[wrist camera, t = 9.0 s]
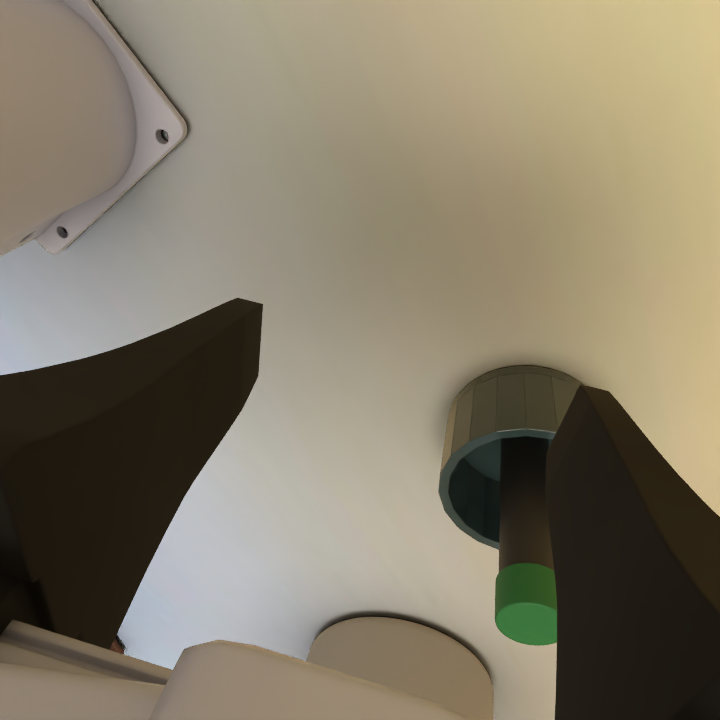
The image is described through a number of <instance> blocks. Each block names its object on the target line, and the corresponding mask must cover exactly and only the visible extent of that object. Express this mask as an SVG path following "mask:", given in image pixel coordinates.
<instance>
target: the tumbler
mask: <svg viewBox="0 0 720 720" xmlns="http://www.w3.org/2000/svg"><path fill="white" fill-rule="evenodd" d="M580 384H581V385H583V384H582V383H580V382H579V381H577V380H576V379H574V378H572V377H571V376H569V375H566V374H564V373H562V372H559V371H556V370H553V369H549V368H544V367H538V366H513V367H506V368H502V369H498V370H494V371H492V372H489V373H486V374H484V375H482V376H480V377H478V378H477V379H475V380H474V381H472V382H471V383H469V384H468V385H467V386H466V387H465V388H464V389H463V390H462V391H461V392H460V393H459V395H458V396H457V397H456V399H455V401H454V402H453V404H452V407H451V409H450V413H449V417H448V422H447V429H446V436H445V443H444V450H443V457H442V464H441V472H440V481H439V495H440V498H441V501H442V504H443V507H444V510H445V512H446V513H447V515H448V516H449V517H450V518H451V519H452V521H453V522H454V523H455V524H456V526H457V527H458V528H459V529H461V530H462V531H464V532H465V533H466V534H468V535H469V536H471V537H472V538H474V539H475V540H476V541H478V542H481V543H483V544H486V545H488V546H491V547H493V548H496V549H498V550H499V531H500V462H501V439H503V438H513V437H523V436H529V437H536V438H544V439H548V442H549V446H550V444H551V442H552V440H553V438H554V436H555V434H556V432H557V430H558V428H559V426H560V424H561V422H562V420H563V418H564V416H565V414H566V412H567V410H568V408H569V406H570V404H571V402H572V400H573V398H574V395H575V393H576V391H577V389H578V387H579V385H580Z"/></svg>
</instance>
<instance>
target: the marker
mask: <svg viewBox="0 0 720 720" xmlns="http://www.w3.org/2000/svg"><path fill="white" fill-rule="evenodd" d="M548 449H549V442H548V439H544V438H536V437H529V436H523V437H513V438H503V439H501V462H500V531H499V574H498V575H497V578H496V591H495V622H496V625H497V627H498V629H499V630H500V631H501V632H502V633H503V634H504V635H505V636H507V637H508V638H510V639H512V640H514V641H517V642H520V643H523V644H528V645H548V644H553V643H556V642H557V597H556V583H555V574H554V565H553V557H552V548H551V540H550V531H549V522H548V513H547V504H546V493H545V485H546V458H547V451H548Z"/></svg>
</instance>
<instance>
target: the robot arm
mask: <svg viewBox="0 0 720 720" xmlns="http://www.w3.org/2000/svg"><path fill="white" fill-rule="evenodd" d="M161 130H164V131H165V132H166V133H167V135H168V138H169V140H168V142H167V141H165V140H164V139H163V138H162V136H161ZM186 135H187V125H186V123H185V121H184V119H183V118H182V116H181V115H180V114H179V112H178V111H177V110H176V109H175V107H174V106H173V105H172V103H171V102H170V101H169V100H168V98H167V97H166V96H165V94H164V93H163V92H162V90H161V89H160V88H159V87H158V85H157V84H156V83H155V81H154V80H153V79H152V78H151V76H150V75H149V74H148V72H147V71H146V70H145V68H144V67H143V66H142V65H141V63H140V62H139V61H138V59H137V58H136V57H135V56H134V54H133V53H132V52H131V50H130V49H129V48H128V46H127V45H126V44H125V43H124V41H123V40H122V39H121V37H120V36H119V35H118V34H117V32H116V31H115V30H114V28H113V27H112V26H111V25H110V23H109V22H108V21H107V19H106V18H105V17H104V15H103V14H102V13H101V12H100V10H99V9H98V8H97V6H96V5H95V4H94V3H93V1H92V0H0V256H2V255H4V254H6V253H8V252H10V251H12V250H14V249H16V248H17V247H19V246H21V245H23V244H25V243H27V242H29V241H31V240H33V239H36V240H37V241H38V242H39V243H40V244H41V245H42V246H43V248H44V249H46V250H47V251H48V252H50V253H52V254H58V253H60V252H61V251H63V250H64V249H66V248H67V247H68V246H69V245H70V244H71V243H72V242H73V241H74V240H75V239H76V238H77V237H79V236H80V235H81V234H82V233H83V232H84V231H85V230H86V229H87V228H88V227H89V226H90V225H91V224H93V223H94V222H95V221H96V220H97V219H98V218H99V217H100V216H101V215H102V214H103V213H104V212H106V211H107V210H108V209H109V208H110V207H111V206H112V205H113V204H114V203H115V202H116V201H117V200H118V199H120V198H121V197H122V196H123V195H124V194H125V193H126V192H127V191H128V190H129V189H130V188H131V187H133V186H134V185H135V184H136V183H137V182H138V181H139V180H140V179H141V178H142V177H143V176H144V175H145V174H147V173H148V172H149V171H150V170H151V169H152V168H153V167H154V166H155V165H156V164H157V163H158V162H159V161H161V160H162V159H163V158H164V157H165V156H166V155H167V154H168V153H169V152H170V151H171V150H172V149H174V148H175V147H176V146H177V145H178V144H179V143H180V142H181V141H182V140H183V139H184V138H185V137H186ZM63 228H65V229H66V231H67V233H68V234H66V233H65V232H64V230H63ZM262 310H263V304H260V303H256V302H252V301H248V300H244V299H240V298H236V299H233V300H231V301H228V302H226V303H224V304H222V305H219V306H217V307H215V308H213V309H211V310H209V311H206V312H204V313H202V314H200V315H198V316H196V317H194V318H191V319H189V320H187V321H185V322H182V323H180V324H178V325H176V326H174V327H171V328H169V329H167V330H164V331H162V332H159V333H157V334H154V335H151V336H149V337H146V338H144V339H141V340H139V341H136V342H134V343H131V344H128V345H126V346H123V347H120V348H117V349H114V350H111V351H107V352H104V353H101V354H97V355H94V356H90V357H87V358H83V359H79V360H75V361H71V362H66V363H62V364H57V365H53V366H49V367H44V368H40V369H35V370H30V371H24V372H18V373H12V374H7V375H0V720H470V719H469V718H468V717H467V716H465V715H463V714H460V713H458V712H456V711H454V710H452V709H450V708H448V707H445V706H443V705H441V704H439V703H437V702H435V701H432V700H430V699H426V698H423V697H420V696H417V695H413V694H410V693H407V692H404V691H400V690H397V689H394V688H391V687H387V686H384V685H381V684H378V683H375V682H371V681H368V680H365V679H362V678H358V677H355V676H352V675H349V674H345V673H342V672H339V671H336V670H332V669H329V668H326V667H323V666H319V665H316V664H313V663H310V662H306V661H303V660H300V659H297V658H294V657H290V656H287V655H284V654H281V653H277V652H274V651H271V650H268V649H264V648H261V647H258V646H255V645H249V644H243V643H236V642H230V641H224V640H216V641H211V642H207V643H203V644H199V645H194V646H192V647H189V648H186V649H184V650H183V652H182V654H181V656H180V658H179V659H178V661H177V663H176V665H175V667H174V669H173V670H171V669H168V668H164V667H161V666H158V665H155V664H152V663H149V662H146V661H142V660H139V659H136V658H133V657H130V656H127V655H123V654H120V653H117V652H114V651H111V650H110V648H111V646H112V644H113V642H114V639H115V637H116V635H117V633H118V630H119V628H120V626H121V624H122V621H123V619H124V617H125V615H126V613H127V610H128V608H129V606H130V604H131V602H132V600H133V598H134V596H135V593H136V591H137V589H138V587H139V585H140V583H141V581H142V579H143V577H144V574H145V572H146V570H147V568H148V566H149V564H150V562H151V560H152V558H153V556H154V554H155V552H156V550H157V548H158V546H159V544H160V542H161V540H162V538H163V536H164V534H165V532H166V530H167V528H168V527H169V525H170V523H171V521H172V519H173V517H174V515H175V513H176V511H177V509H178V508H179V506H180V504H181V502H182V500H183V498H184V496H185V495H186V493H187V491H188V490H189V488H190V486H191V485H192V483H193V482H194V480H195V479H196V477H197V476H198V474H199V473H200V471H201V470H202V468H203V467H204V465H205V464H206V462H207V461H208V459H209V458H210V456H211V455H212V454H213V452H214V451H215V449H216V448H217V446H218V445H219V443H220V442H221V440H222V439H223V437H224V436H225V434H226V433H227V431H228V430H229V428H230V427H231V425H232V424H233V422H234V421H235V419H236V418H237V416H238V415H239V413H240V412H241V410H242V408H243V406H244V404H245V402H246V400H247V398H248V396H249V394H250V392H251V390H252V388H253V386H254V384H255V382H256V380H257V377H258V372H259V356H260V341H261V326H262ZM545 493H546V504H547V513H548V522H549V531H550V540H551V548H552V557H553V565H554V574H555V583H556V597H557V671H556V705H555V720H720V517H719V516H718V515H717V514H716V513H715V512H714V511H713V510H712V509H711V508H710V507H709V506H708V505H707V504H706V503H705V502H704V501H703V500H702V499H701V498H700V497H699V496H698V495H697V494H696V493H695V492H694V491H693V490H692V489H691V488H690V487H689V485H688V484H687V483H686V482H685V481H684V480H683V479H682V478H681V477H680V476H679V475H678V474H677V472H676V471H675V470H674V469H673V468H672V467H671V466H670V465H669V463H668V462H667V461H666V460H665V459H664V458H663V456H662V455H661V454H660V453H659V452H658V450H657V449H656V448H655V447H654V446H653V444H652V443H651V442H650V441H649V440H648V438H647V437H646V436H645V435H644V433H643V432H642V431H641V430H640V428H639V427H638V426H637V425H636V423H635V422H634V421H633V420H632V418H631V417H630V416H629V415H628V413H627V412H626V411H625V410H624V409H623V407H622V406H621V405H620V404H619V402H618V401H617V400H616V399H615V398H614V397H613V396H612V395H611V393H610V392H609V391H605V390H601V389H597V388H593V387H589V386H585V385H581V384H580V385H579V387H578V389H577V391H576V393H575V395H574V398H573V400H572V402H571V404H570V406H569V408H568V410H567V412H566V414H565V416H564V418H563V420H562V422H561V424H560V426H559V428H558V430H557V432H556V434H555V436H554V438H553V440H552V442H551V444H550V446H549V449H548V451H547V458H546V485H545Z"/></svg>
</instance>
